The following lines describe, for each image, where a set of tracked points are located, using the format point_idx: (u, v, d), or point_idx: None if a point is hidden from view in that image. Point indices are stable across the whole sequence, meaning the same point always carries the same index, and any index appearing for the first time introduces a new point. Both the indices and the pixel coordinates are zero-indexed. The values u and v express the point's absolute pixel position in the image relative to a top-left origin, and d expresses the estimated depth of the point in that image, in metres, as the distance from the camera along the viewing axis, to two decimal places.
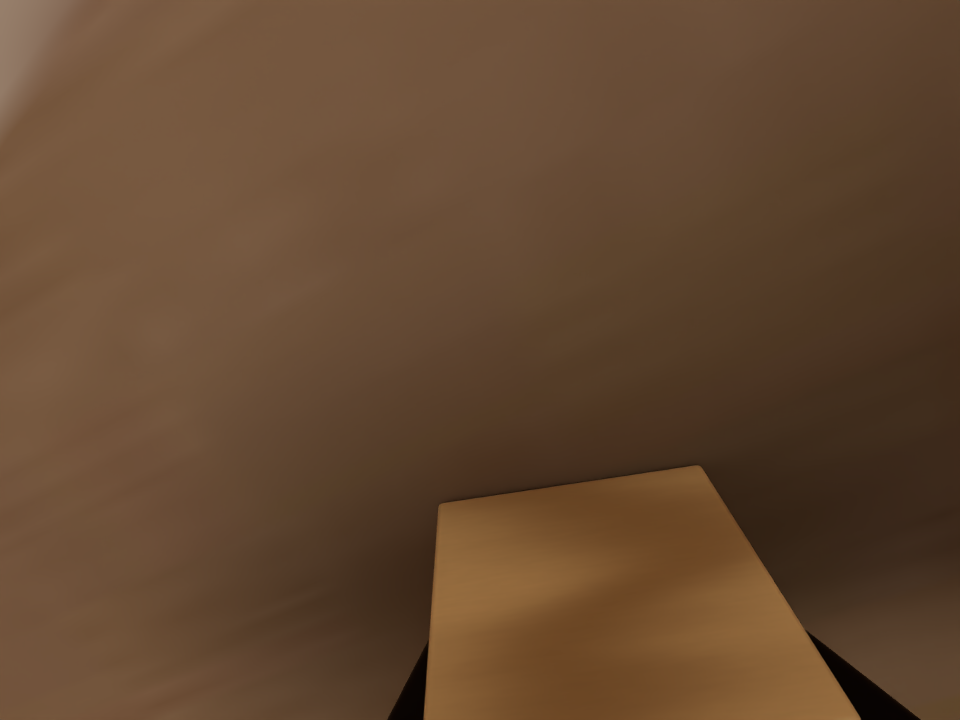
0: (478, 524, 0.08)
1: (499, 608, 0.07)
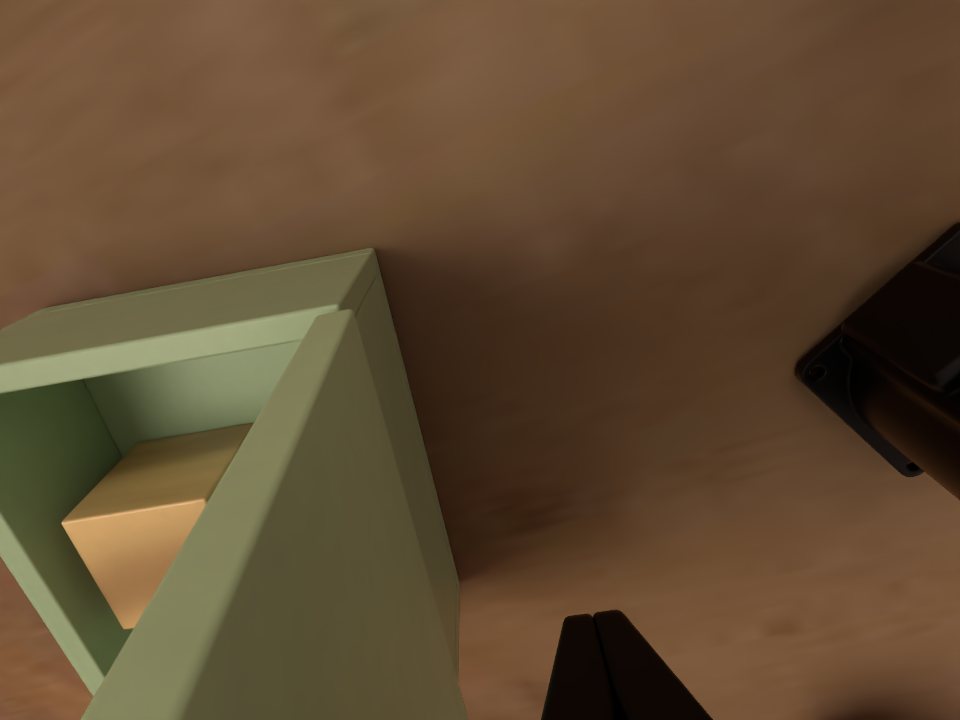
0: None
1: None
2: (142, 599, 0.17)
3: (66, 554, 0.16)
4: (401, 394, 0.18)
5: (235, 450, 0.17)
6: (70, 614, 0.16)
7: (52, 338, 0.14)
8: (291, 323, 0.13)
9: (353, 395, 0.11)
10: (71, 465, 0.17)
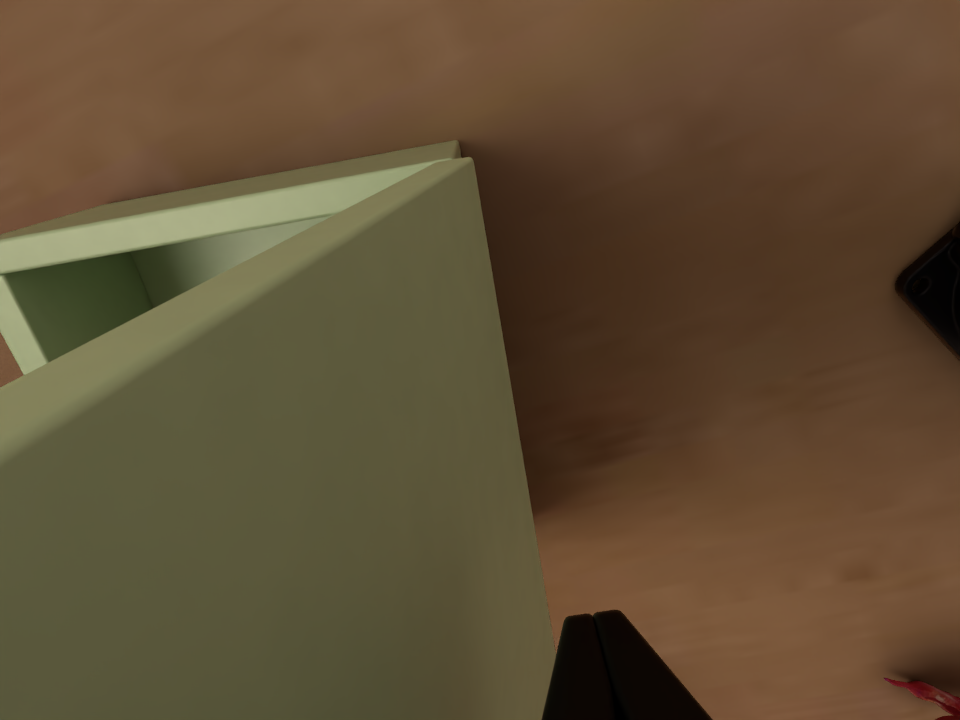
0: None
1: None
2: None
3: None
4: None
5: None
6: None
7: (128, 210, 0.13)
8: (400, 179, 0.12)
9: (459, 237, 0.10)
10: None
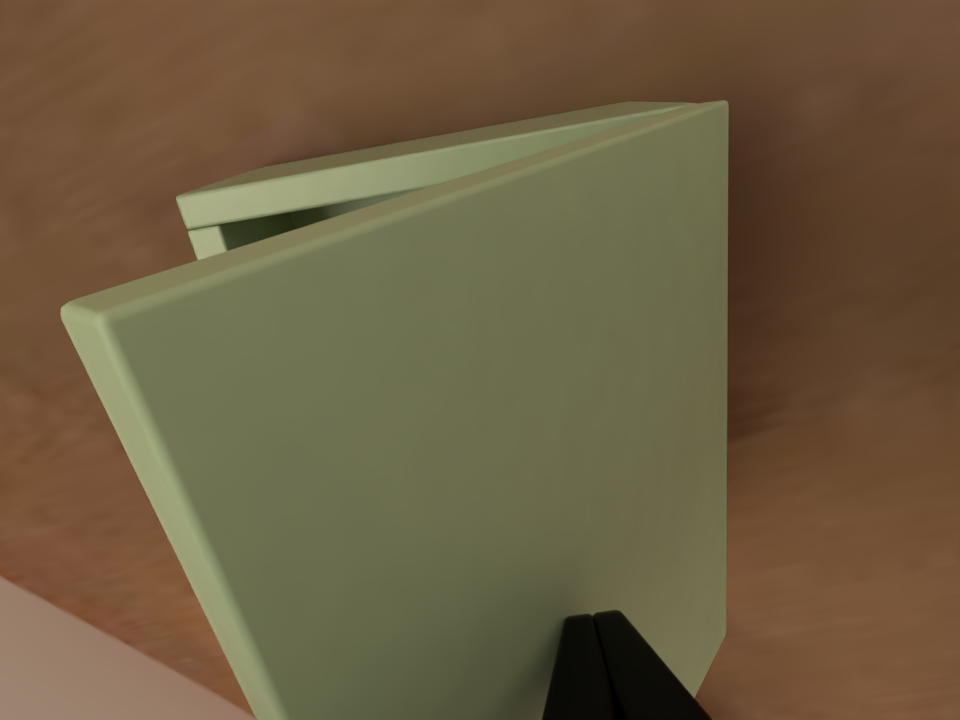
0: None
1: None
2: None
3: None
4: None
5: None
6: None
7: (332, 163, 0.13)
8: None
9: (687, 182, 0.10)
10: None
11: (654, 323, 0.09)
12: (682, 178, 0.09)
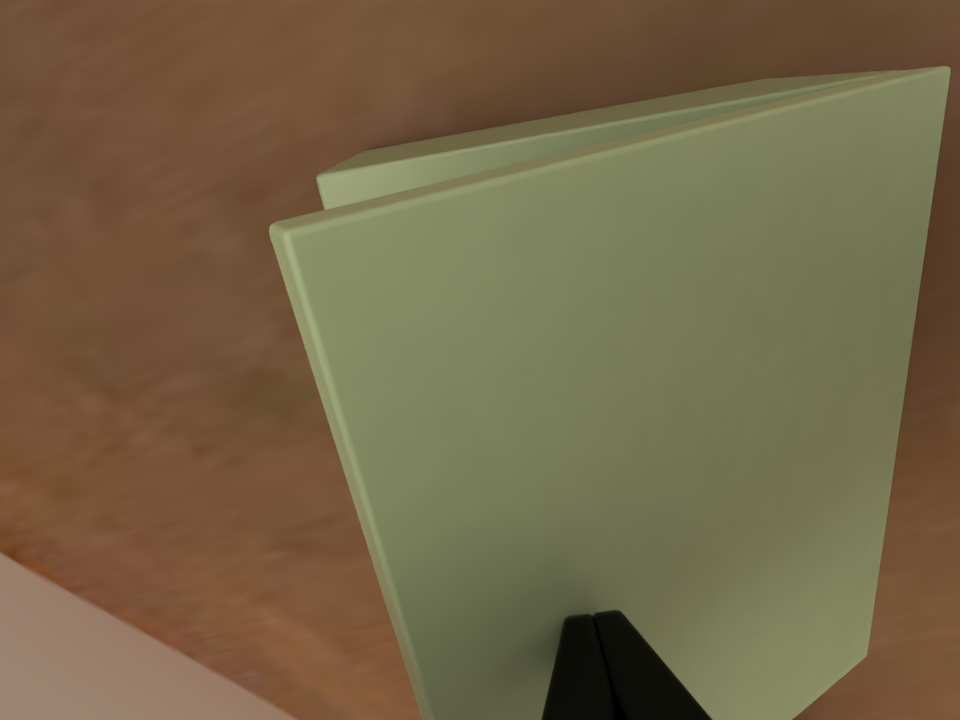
0: None
1: None
2: None
3: None
4: None
5: None
6: None
7: (474, 141, 0.12)
8: None
9: (870, 158, 0.09)
10: None
11: (801, 304, 0.09)
12: (863, 153, 0.09)
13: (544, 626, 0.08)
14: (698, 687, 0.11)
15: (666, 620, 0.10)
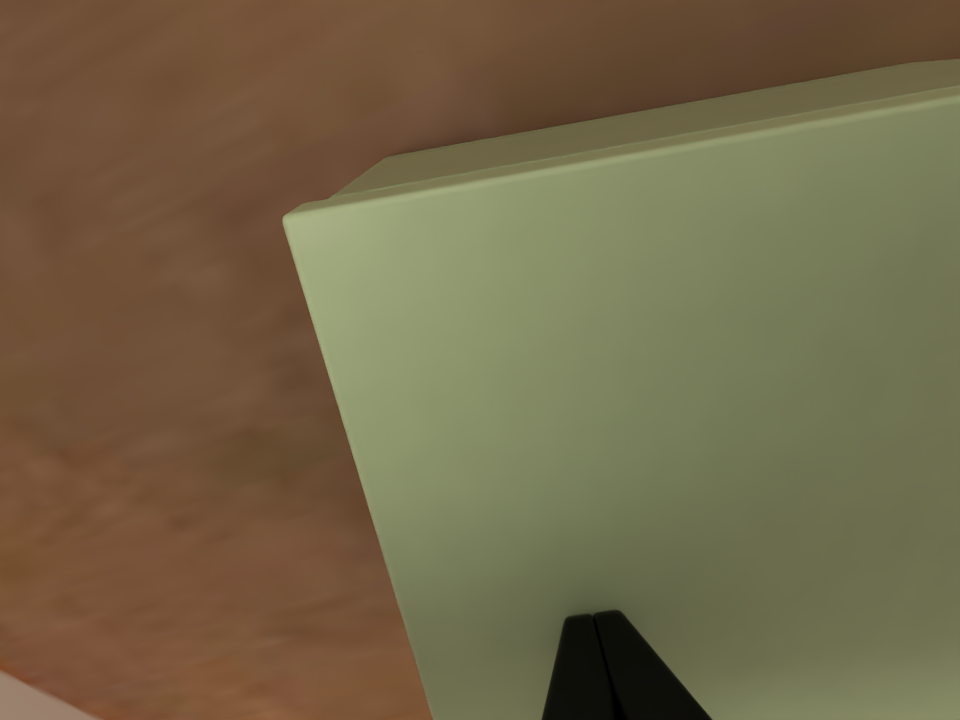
0: None
1: None
2: None
3: None
4: None
5: None
6: None
7: (553, 145, 0.08)
8: None
9: None
10: None
11: (940, 357, 0.07)
12: None
13: (533, 616, 0.09)
14: None
15: (691, 663, 0.09)
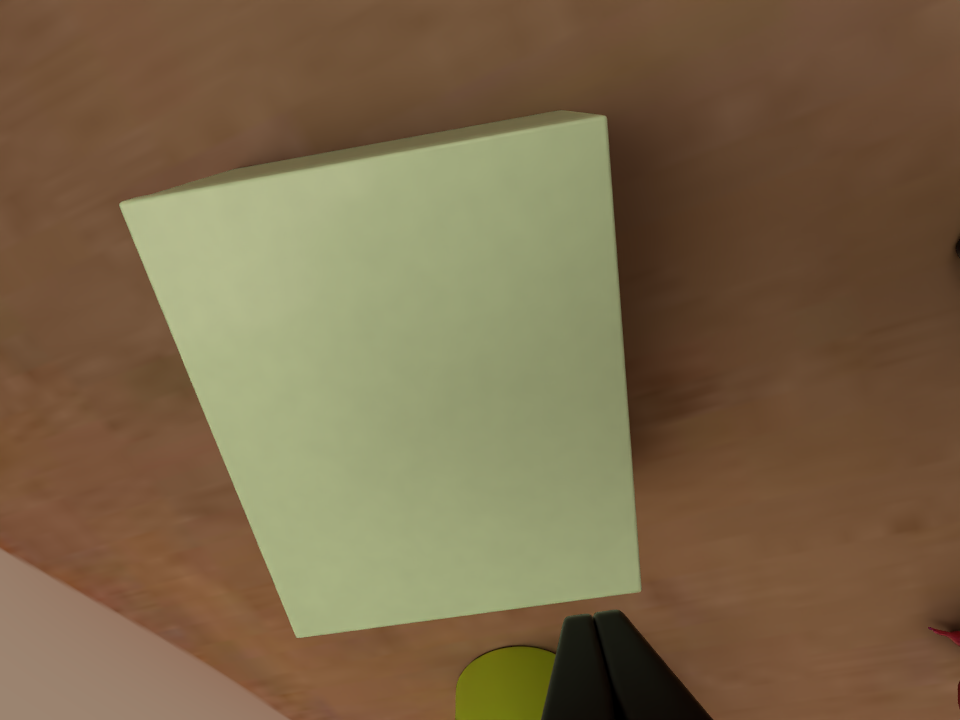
0: None
1: None
2: None
3: None
4: None
5: None
6: None
7: (289, 166, 0.15)
8: None
9: (519, 182, 0.13)
10: None
11: (469, 278, 0.14)
12: (510, 179, 0.13)
13: (286, 432, 0.15)
14: (427, 527, 0.16)
15: (385, 465, 0.16)
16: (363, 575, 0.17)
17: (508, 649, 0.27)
